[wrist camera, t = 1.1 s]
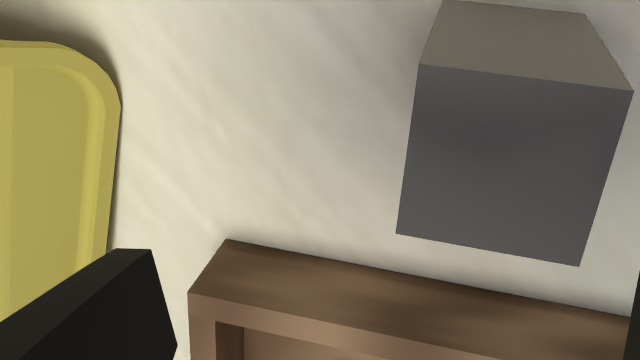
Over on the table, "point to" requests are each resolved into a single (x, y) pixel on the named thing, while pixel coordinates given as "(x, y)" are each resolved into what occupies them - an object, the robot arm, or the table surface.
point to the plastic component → (52, 166)
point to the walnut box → (376, 315)
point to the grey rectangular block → (511, 131)
